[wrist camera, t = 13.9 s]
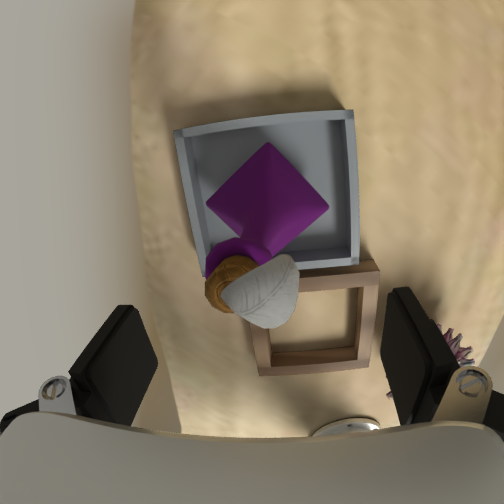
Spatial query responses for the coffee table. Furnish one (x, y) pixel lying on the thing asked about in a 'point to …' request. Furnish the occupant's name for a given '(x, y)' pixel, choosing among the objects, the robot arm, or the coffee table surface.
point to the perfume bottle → (260, 238)
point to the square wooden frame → (335, 358)
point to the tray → (305, 162)
